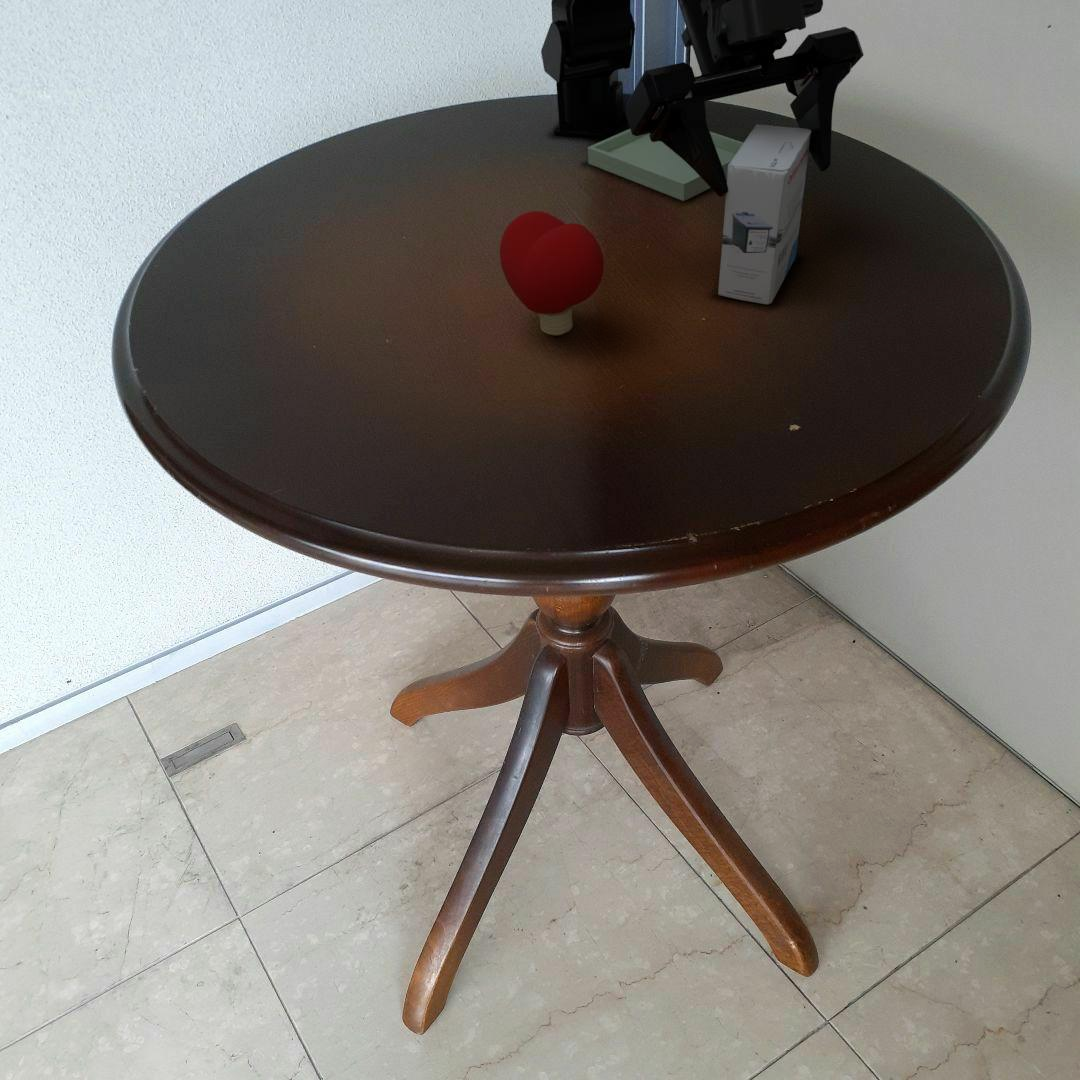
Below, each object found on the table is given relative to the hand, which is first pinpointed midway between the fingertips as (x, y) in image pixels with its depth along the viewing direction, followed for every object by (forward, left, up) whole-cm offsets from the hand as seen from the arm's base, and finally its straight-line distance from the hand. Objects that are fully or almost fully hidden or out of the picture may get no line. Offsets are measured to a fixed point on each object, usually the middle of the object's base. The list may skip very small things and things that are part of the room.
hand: (775, 181), depth 82 cm
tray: (-15, +22, -9) cm, 28 cm away
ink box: (-1, +1, -9) cm, 10 cm away
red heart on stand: (-15, -12, -9) cm, 21 cm away
